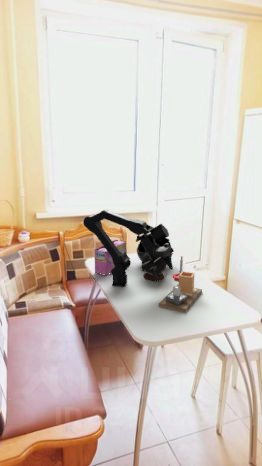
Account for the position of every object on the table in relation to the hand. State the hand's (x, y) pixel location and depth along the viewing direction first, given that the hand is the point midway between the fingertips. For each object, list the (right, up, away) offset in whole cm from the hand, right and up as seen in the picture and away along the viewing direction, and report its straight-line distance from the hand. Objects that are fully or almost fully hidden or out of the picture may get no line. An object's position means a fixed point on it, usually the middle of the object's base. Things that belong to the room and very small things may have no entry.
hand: (166, 274), depth 157 cm
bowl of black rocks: (-3, 0, +36) cm, 36 cm away
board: (+6, -10, -7) cm, 14 cm away
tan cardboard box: (+9, -7, -2) cm, 12 cm away
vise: (+4, -10, -12) cm, 16 cm away
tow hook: (+10, -4, +18) cm, 21 cm away
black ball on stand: (-5, -4, +18) cm, 19 cm away
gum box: (-28, -1, +32) cm, 42 cm away
